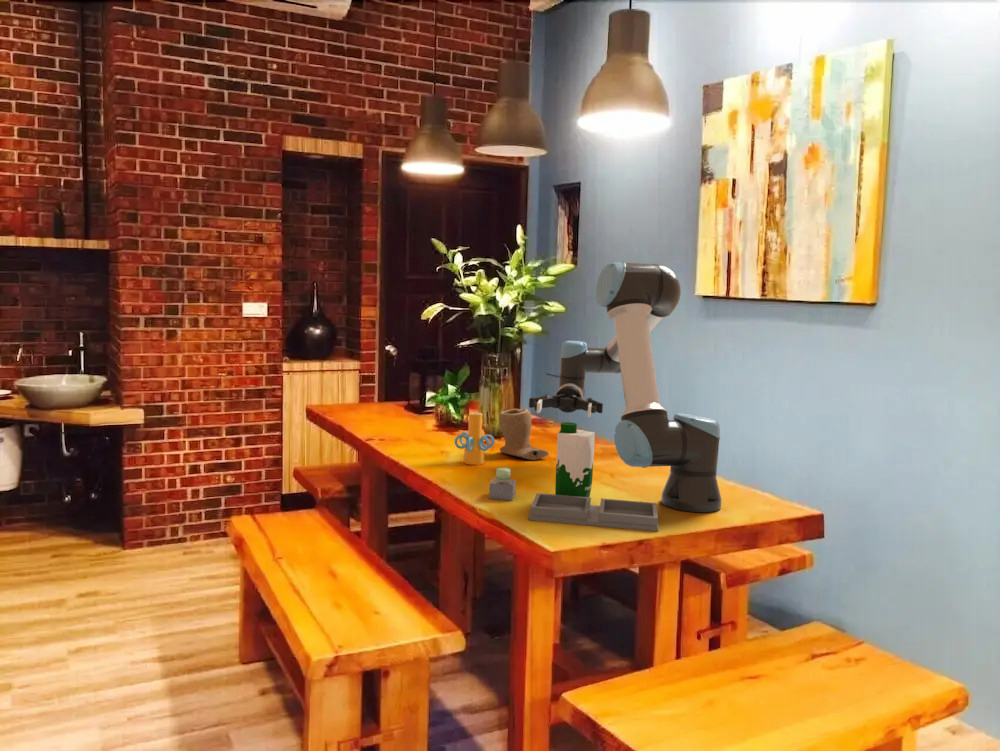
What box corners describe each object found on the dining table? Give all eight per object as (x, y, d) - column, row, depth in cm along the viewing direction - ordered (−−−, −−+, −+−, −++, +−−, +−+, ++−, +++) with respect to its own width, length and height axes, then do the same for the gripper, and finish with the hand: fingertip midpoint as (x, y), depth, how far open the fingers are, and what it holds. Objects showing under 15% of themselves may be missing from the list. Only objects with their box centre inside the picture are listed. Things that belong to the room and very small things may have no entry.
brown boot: (489, 453, 278) (491, 406, 276) (519, 450, 285) (521, 404, 283) (519, 463, 266) (522, 414, 264) (549, 459, 273) (552, 412, 271)
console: (515, 494, 229) (516, 479, 228) (512, 500, 223) (513, 485, 222) (492, 493, 229) (493, 478, 229) (488, 498, 224) (489, 483, 223)
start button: (511, 477, 227) (511, 468, 227) (509, 480, 223) (509, 471, 223) (497, 476, 228) (497, 467, 227) (495, 479, 224) (495, 470, 224)
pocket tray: (656, 514, 216) (657, 502, 216) (658, 531, 202) (659, 518, 202) (535, 504, 221) (535, 492, 220) (528, 519, 206) (529, 507, 206)
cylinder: (457, 467, 257) (459, 416, 255) (450, 459, 267) (452, 410, 265) (498, 466, 260) (500, 416, 258) (489, 459, 270) (491, 410, 268)
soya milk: (560, 495, 230) (564, 420, 228) (593, 500, 227) (598, 423, 225) (550, 503, 222) (555, 425, 219) (585, 508, 219) (590, 429, 217)
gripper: (611, 414, 255) (609, 427, 234) (525, 407, 258) (516, 420, 237) (613, 388, 254) (611, 399, 233) (527, 382, 257) (517, 392, 236)
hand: (563, 410), depth 235 cm, fingers open, 13 cm apart
